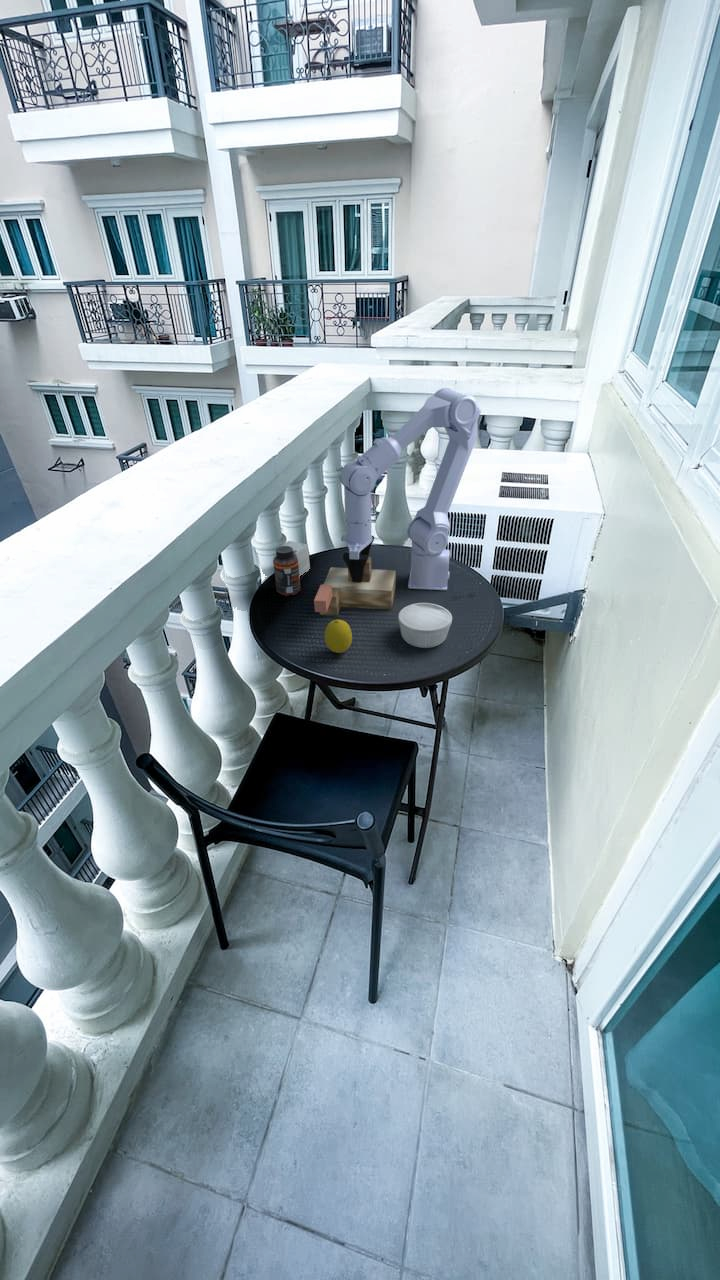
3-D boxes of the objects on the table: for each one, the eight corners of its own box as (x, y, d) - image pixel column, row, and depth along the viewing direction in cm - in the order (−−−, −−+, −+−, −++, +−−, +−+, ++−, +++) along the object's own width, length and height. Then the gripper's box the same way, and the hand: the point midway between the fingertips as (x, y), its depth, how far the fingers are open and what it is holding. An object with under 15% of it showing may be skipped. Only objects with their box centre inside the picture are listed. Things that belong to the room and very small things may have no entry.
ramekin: (452, 625, 120) (454, 604, 117) (448, 654, 111) (450, 633, 108) (401, 620, 122) (402, 600, 119) (394, 648, 113) (394, 627, 110)
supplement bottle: (296, 598, 131) (292, 555, 125) (273, 596, 132) (267, 553, 126) (303, 586, 136) (300, 544, 129) (281, 584, 137) (276, 543, 130)
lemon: (349, 661, 110) (348, 628, 105) (323, 659, 110) (320, 626, 106) (355, 646, 114) (353, 613, 109) (329, 643, 115) (326, 611, 110)
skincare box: (290, 565, 146) (288, 540, 141) (310, 569, 143) (308, 543, 139) (278, 575, 141) (275, 549, 137) (299, 579, 139) (296, 553, 135)
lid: (395, 574, 131) (396, 551, 128) (391, 594, 123) (391, 571, 120) (330, 571, 134) (329, 548, 130) (322, 591, 125) (320, 567, 122)
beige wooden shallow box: (395, 588, 134) (395, 570, 131) (389, 618, 122) (389, 599, 119) (331, 585, 136) (330, 567, 133) (320, 614, 124) (318, 595, 122)
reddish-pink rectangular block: (332, 596, 121) (332, 584, 119) (326, 612, 115) (325, 601, 114) (321, 595, 121) (320, 584, 120) (314, 611, 116) (314, 600, 114)
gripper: (345, 506, 126) (348, 559, 134) (334, 531, 114) (337, 588, 122) (376, 507, 125) (376, 560, 133) (367, 532, 113) (368, 589, 121)
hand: (359, 573), depth 127 cm, fingers open, 7 cm apart
